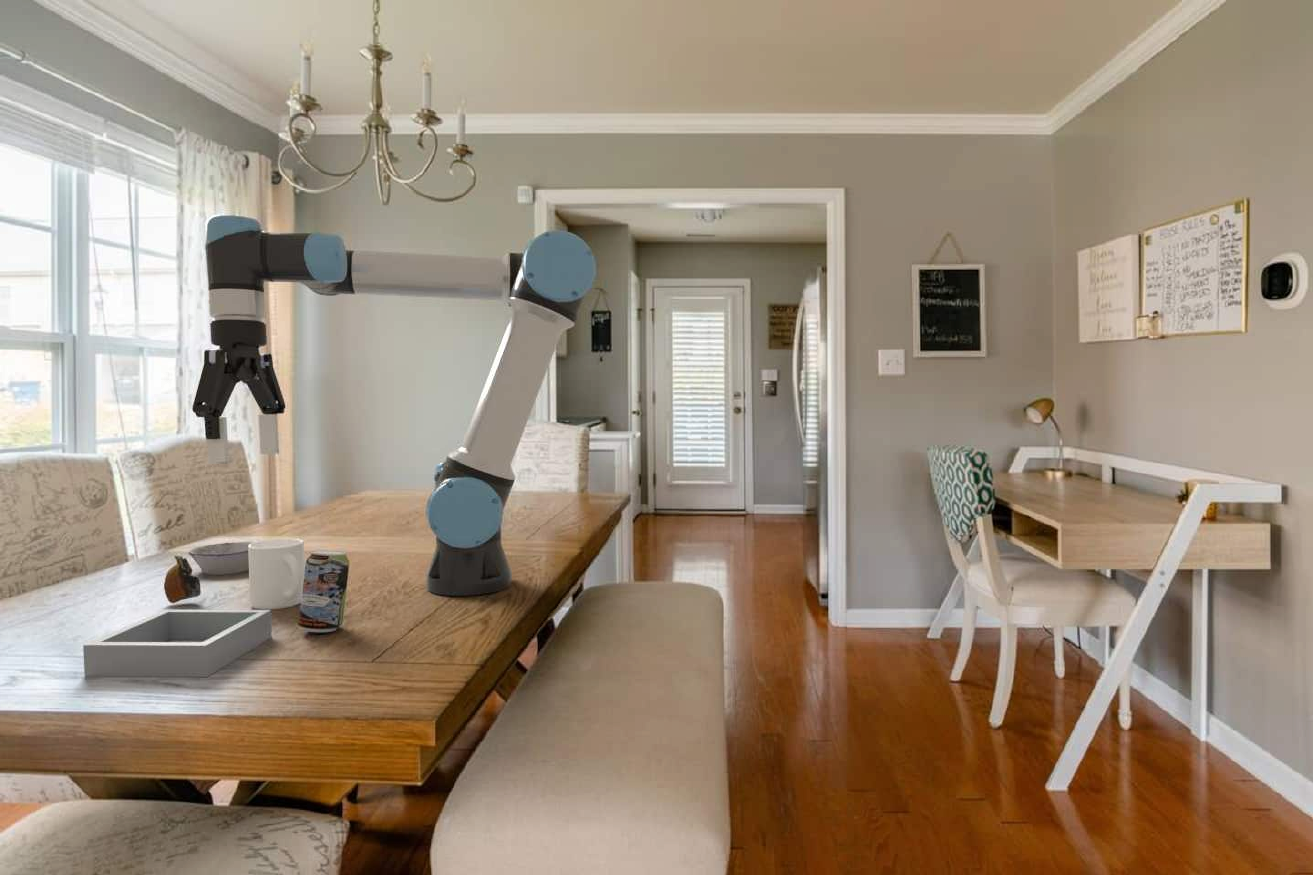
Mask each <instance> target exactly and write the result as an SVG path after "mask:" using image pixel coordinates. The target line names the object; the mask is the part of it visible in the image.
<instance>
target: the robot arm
mask: <svg viewBox="0 0 1313 875" xmlns="http://www.w3.org/2000/svg"><path fill="white" fill-rule="evenodd" d="M204 250H205V258H206V259H205V260H206V269H207V270H206V272H207V282H208V283H207V285H208V287H207V288H208V297H209V298H208V304H209V316H210V317H211V318H213V319H214V320H211V322H210V323H209V327H210V328H209V329H210V342H211V344H212V345H214V346H216V347H219V348H218V349H217V348H216V349H215V348H212V349H204V352H203V353H204V354H203V367H202V370H201V374H200V378H199V382H198V384H197V385H198V386H197V388H196V389H197V390H196V393H195V397H194V400H193V403H192V407H191V409H192V410H191V411H192V412H193V414H195V416H196V417H197V418H203V419H204V430H205V431H204V433H205V440H206V441H205V442H206V455H207V456H206V457H207V458H206V459H207V460H206V461H207V463H226V462H230V460H229V443H228V423H227V420H228V419H227V417H226V416H223V413H224V411H225V409H226V407H227V405H228V402H229V400H230V398H231V396H232V394H233V392H234V389H235V387H236V385H237V384H238V383H241V382H242V383H243V384H245V385H246V386H247V387H248V389H249V391H250V393H251V395H252V396H253V398H254V400H255V402H256V403H257V406H258V407H259V409H260V411H261V414H258V428H259V429H258V430H259V432H258V433H259V448H260V450H259V451H260V455H278V454H280V446H279V445H280V443H279V442H280V441H279V427H278V426H279V424H278V423H279V422H278V414H279V415H280V414H284V413H285V409H286V403H285V399H284V397H283V396H284V395H283V393H282V391H281V388H280V387H281V386H280V383H279V382H278V378H277V375H276V372H275V368H274V362H273V355H272V354H271V353H260V347H265V346H266V345H267V344H268V342H267V341H268V340H267V338H268V337H267V324H266V323H265V322H264V321H263V320H264V319H266V316H267V315H266V304H265V303H266V302H265V287H264V286H265V282H269V283H276V282H277V283H278V282H279V283H281V282H282V283H300V284H301V285H303V286H305V287H307V289H309V290H311V291H312V292H313V293H315V294H317V295H320V296H327V297H334V296H337V295H372V296H391V297H392V296H394V297H418V298H435V299H437V298H438V299H439V298H440V299H458V300H459V299H461V300H478V301H479V300H482V301H483V300H484V301H501V302H502V303H504V305H505V306H506V307H511V310H512V315H511V316H510V318H509V319H510V320H509V322H508V325H507V326H506V330H505V331H504V332H505V333H504V335H503V338H502V340H501V343H500V346H499V348H498V351H497V353H496V356H495V359H494V360H493V364H492V365H491V369H490V370H489V373H488V374H489V375H488V376H487V379H486V382H485V385H484V387H483V389H482V392H481V395H480V396H479V400H478V401H477V404H476V407H475V410H474V413H473V415H472V418H471V421H470V423H469V426H468V428H467V431H466V434H465V436H464V439H463V441H462V444H461V446H460V447H459V448H458V449H455V450H453V451H451V452H449V453H448V454H447V455H446V459H445V461H442V462H439V463H437V465H435V474H434V475H433V479H434V480H433V481H434V482H435V484H434V485H435V486H434V490H433V492H432V493H431V494H430V496H429V498H428V500H427V504H426V511H425V512H426V518H427V522H428V525H429V527H430V529H431V531H432V533H433V534H434V535H435V544H436V545H435V550H434V552H433V556H432V558H431V562H430V566H429V568H428V572H427V575H426V589H427V591H429V592H430V593H432V594H436V595H441V596H452V597H453V596H454V597H467V596H468V597H469V596H479V595H488V594H493V593H496V592H500V591H502V590H503V591H504V590H505V589H507V588H509V587H510V586H511V585H512V571H511V567H510V565H509V561H508V559H507V557H506V553H505V551H504V548H503V545H502V522H503V518H504V517H503V515H504V509H505V507H506V504H507V501H508V499H509V496H510V494H511V490H512V488H513V485H514V483H515V480H516V478H517V477H516V475H515V472H514V471H513V469H512V464H513V461H514V457H515V455H516V452H517V449H518V448H519V444H520V442H521V439H522V437H523V434H524V432H525V429H526V426H527V423H528V421H529V419H530V416H531V414H532V411H533V408H534V405H535V403H536V400H537V397H538V394H539V392H540V390H541V387H542V385H543V382H544V380H545V376H546V375H547V372H548V369H549V366H550V363H551V361H552V358H553V356H554V353H555V351H556V349H557V348H556V347H557V346H558V343H559V340H560V338H561V335H562V333H563V332H564V331H566V330H569V329H571V328H573V327H574V326H575V324H576V321H577V319H578V316H579V314H580V311H581V308H582V307H583V303H584V300H585V297H586V296H587V293H589V291H590V289H591V288H592V286H593V285H594V283H595V280H596V279H595V278H596V274H597V272H596V271H597V270H596V261H595V260H596V259H595V257H594V253H593V252H592V250H591V248H590V247H589V245H588V244H587V242H585V241H584V240H583V239H582V238H581V237H579V236H578V235H576V234H575V233H573V232H570V231H567V230H562V229H561V230H560V229H559V230H558V229H554V230H548V231H545V232H543V233H541V234H539V235H538V236H536V237H535V238H534V239H533V240H530V242H529V244H528V245H526V248H525V249H524V252H519V253H518V252H507V253H505V255H503V257H487V256H486V257H485V256H469V255H468V256H466V255H449V254H429V253H413V252H411V253H409V252H394V251H375V250H373V251H372V250H348V249H346V245H345V243H344V240H343V238H342V237H341V236H340V235H338V234H333V233H322V232H320V231H319V232H271V231H270V232H269V231H263V229H262V225H261V223H260V222H259V221H258V220H257V219H255V218H253V217H249V216H244V215H241V216H240V215H234V214H217V215H213V216H211V217H208V219H207V221H206V223H205V243H204Z"/></svg>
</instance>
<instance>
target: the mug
mask: <svg viewBox="0 0 1313 875" xmlns="http://www.w3.org/2000/svg"><path fill="white" fill-rule="evenodd" d="M254 542H255V541H254ZM304 547H305V546H304V540H303V539H297V538H274V539H265V540H260V541H256V542H255V543H252V544H250V545H249V546H248V553H249V570H248V579H249V580H248V581H249V602H250V605H251V607H252V608H254V609H255V610H271V611H272V610H281V609H286V608H287V609H288V608H292V607H295V606H297V605H299V604H300V605H301V597H302V589H303V580H304V572H305V555H304V554H305V553H304V551H305V550H304Z"/></svg>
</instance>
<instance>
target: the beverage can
mask: <svg viewBox="0 0 1313 875" xmlns="http://www.w3.org/2000/svg"><path fill="white" fill-rule="evenodd" d="M349 569H350V560H349V558H348V557H347V552H345V551H340V550H311V552H310V554H309V555H308V556H307V558H306V559H305V562H304V580H303V589H302V597H301V603H300V606H299V607H300V608H299V615H298V622H297V623H298V626H299V627H301V628H302V629H303V630H304V631H305V632H309V633H331V632H335V631H336V630H337V628H339V627H342V626H343V624H344V623H343V622H344V615H345V614H344V613H345V605H346V595H347V588H348V579H349V578H348V577H349Z"/></svg>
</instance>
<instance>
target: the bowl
mask: <svg viewBox="0 0 1313 875" xmlns="http://www.w3.org/2000/svg"><path fill="white" fill-rule="evenodd" d="M252 543H255V541H237V542H235V541H234V542H233V541H232V542H222V543H214V544H205V545H202V546H197V547H194V548H193V549H190V550H189V552H188V555H189V556H190V557H191V558H193V560H194V561H195V563H196V564H197V565H198V567H199V568H200V570H201V572H202V573H204V574H206V575H212V576H213V575H214V576H215V575H216V576H217V575H218V576H219V575H220V576H221V575H231V574H232V575H233V574H237V573H242V572H246V571H249V553H248V546H249V545H250V544H252Z"/></svg>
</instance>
